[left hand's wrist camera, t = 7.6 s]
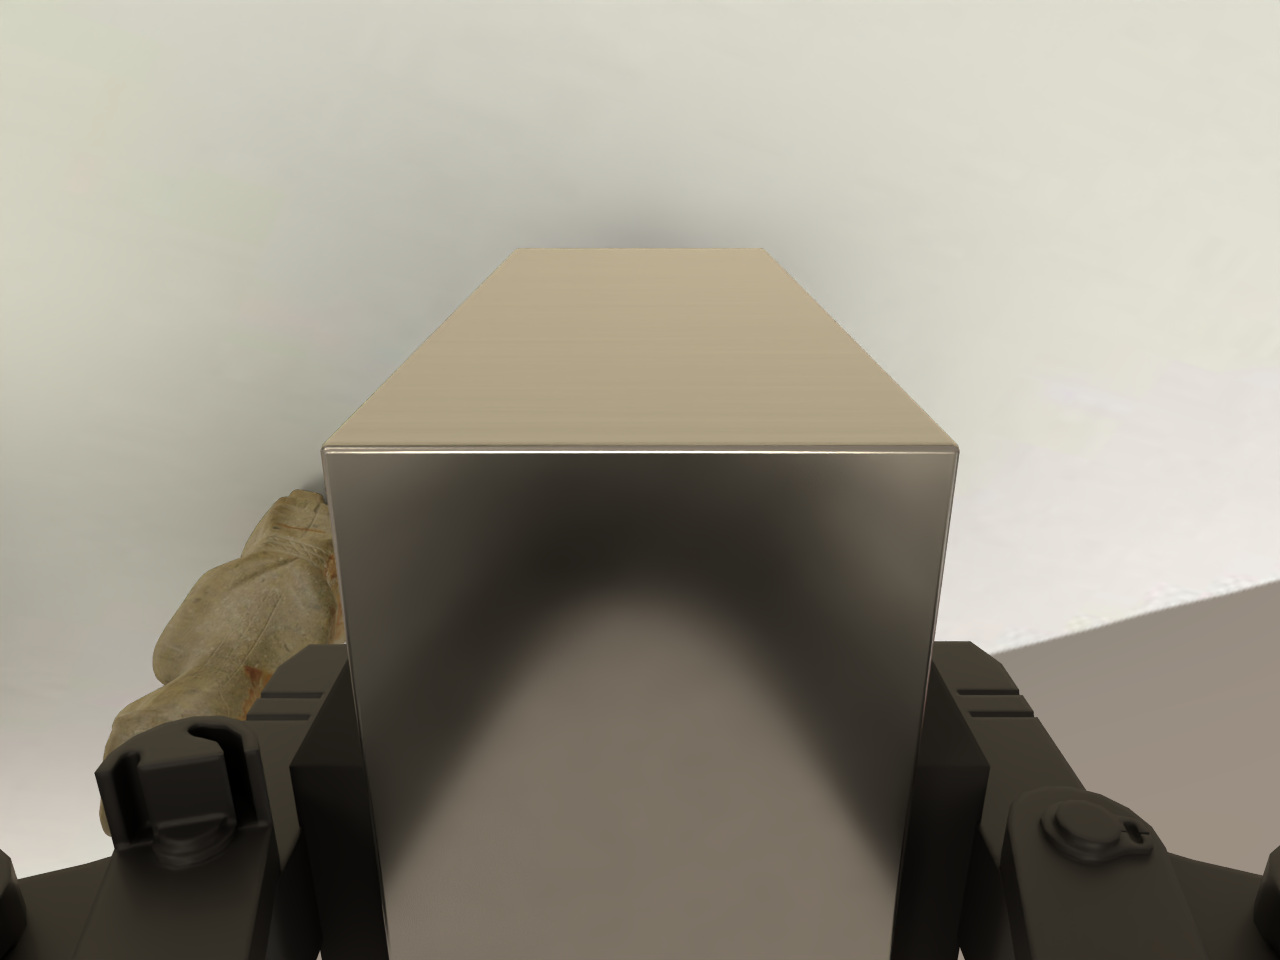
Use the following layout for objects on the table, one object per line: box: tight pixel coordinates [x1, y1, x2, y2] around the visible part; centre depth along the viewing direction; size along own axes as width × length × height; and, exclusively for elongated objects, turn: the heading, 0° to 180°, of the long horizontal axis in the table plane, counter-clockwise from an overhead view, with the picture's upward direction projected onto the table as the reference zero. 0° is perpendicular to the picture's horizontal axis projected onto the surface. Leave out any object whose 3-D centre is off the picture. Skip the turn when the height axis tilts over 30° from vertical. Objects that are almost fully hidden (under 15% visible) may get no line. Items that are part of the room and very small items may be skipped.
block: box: [321, 248, 960, 960], centre depth 14 cm, size 5×9×11 cm, turn 0°
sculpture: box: [99, 489, 346, 836], centre depth 33 cm, size 6×7×15 cm
